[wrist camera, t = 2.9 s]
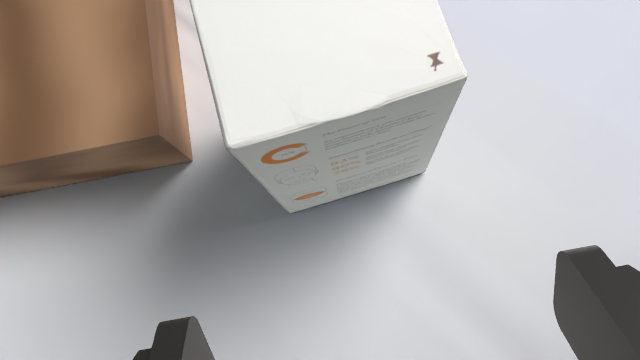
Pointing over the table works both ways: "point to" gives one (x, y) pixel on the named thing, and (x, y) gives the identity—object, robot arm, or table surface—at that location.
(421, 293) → the table surface
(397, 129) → the small box
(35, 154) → the podium
